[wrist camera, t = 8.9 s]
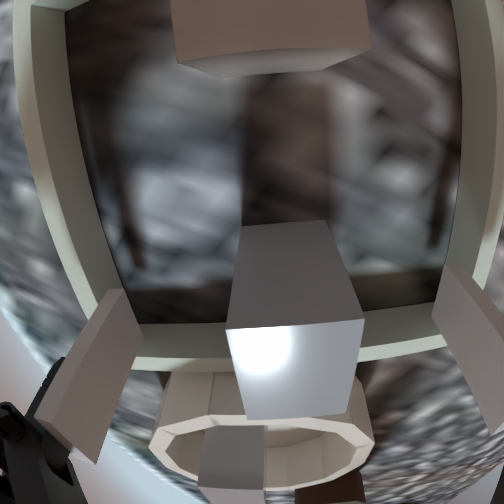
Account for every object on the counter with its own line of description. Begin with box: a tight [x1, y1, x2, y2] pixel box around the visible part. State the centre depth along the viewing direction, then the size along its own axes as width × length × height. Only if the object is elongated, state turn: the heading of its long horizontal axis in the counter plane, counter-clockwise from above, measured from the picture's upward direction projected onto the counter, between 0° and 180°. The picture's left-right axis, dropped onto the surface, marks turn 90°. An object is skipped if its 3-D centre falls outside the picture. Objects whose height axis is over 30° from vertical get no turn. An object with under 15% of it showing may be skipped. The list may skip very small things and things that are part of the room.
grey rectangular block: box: [197, 425, 267, 504], centre depth 16 cm, size 4×3×6 cm
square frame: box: [13, 0, 504, 372], centre depth 10 cm, size 18×18×2 cm
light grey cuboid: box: [225, 220, 365, 420], centre depth 11 cm, size 4×3×6 cm
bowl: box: [149, 371, 375, 491], centre depth 17 cm, size 13×13×4 cm
